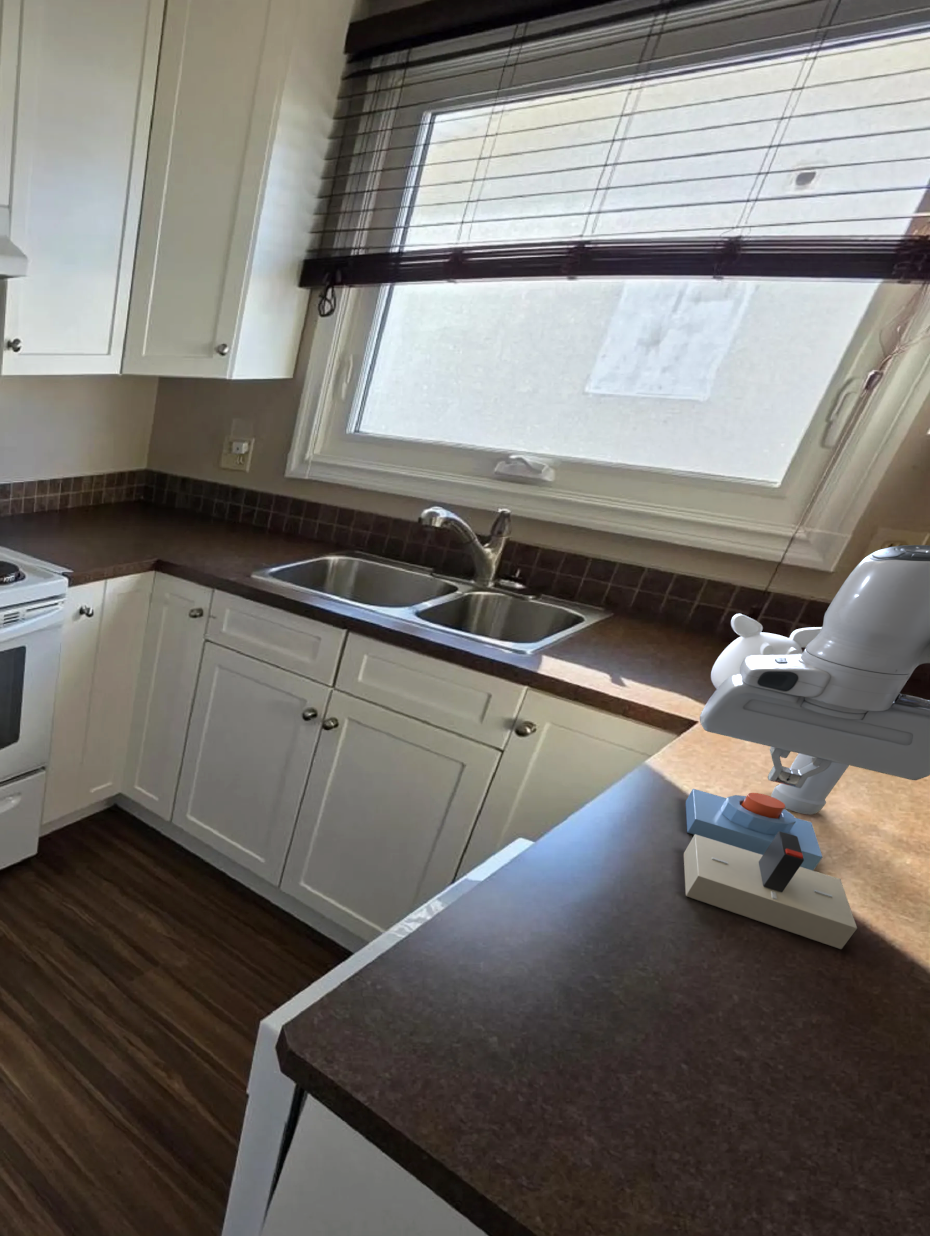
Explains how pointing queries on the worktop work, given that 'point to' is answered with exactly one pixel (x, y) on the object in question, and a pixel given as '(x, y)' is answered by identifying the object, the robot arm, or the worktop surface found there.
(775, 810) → the button
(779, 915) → the box
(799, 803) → the bottle
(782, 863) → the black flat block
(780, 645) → the piggy bank
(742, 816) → the button housing
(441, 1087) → the worktop surface
